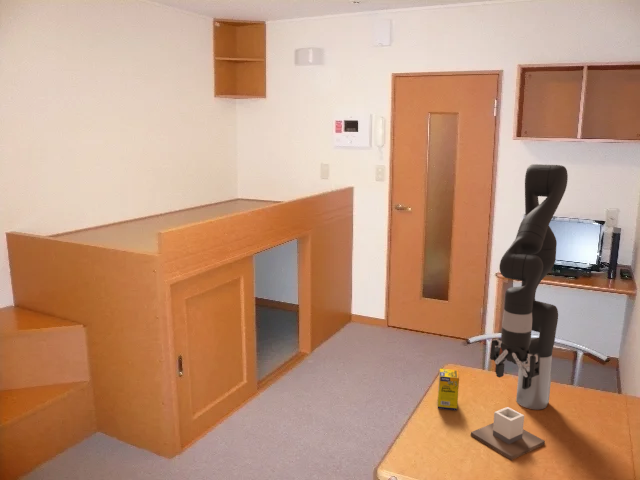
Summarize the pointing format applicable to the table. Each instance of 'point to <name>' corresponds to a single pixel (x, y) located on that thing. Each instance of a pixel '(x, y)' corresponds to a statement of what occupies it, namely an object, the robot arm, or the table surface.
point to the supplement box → (448, 389)
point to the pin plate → (504, 448)
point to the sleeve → (508, 425)
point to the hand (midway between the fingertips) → (512, 382)
